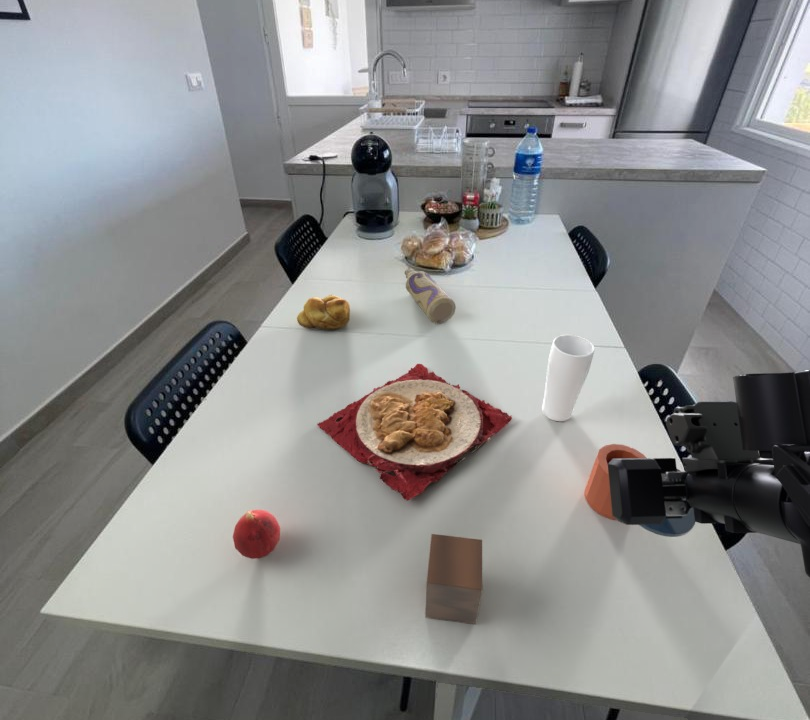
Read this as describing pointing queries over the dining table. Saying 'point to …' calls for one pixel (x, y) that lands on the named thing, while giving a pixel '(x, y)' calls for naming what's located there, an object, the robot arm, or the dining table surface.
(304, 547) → the dining table surface
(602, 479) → the orange cylindrical container
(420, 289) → the decorative bottle
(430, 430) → the plate with food
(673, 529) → the lid
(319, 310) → the bread roll
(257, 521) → the onion
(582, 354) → the drinking glass
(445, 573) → the block
